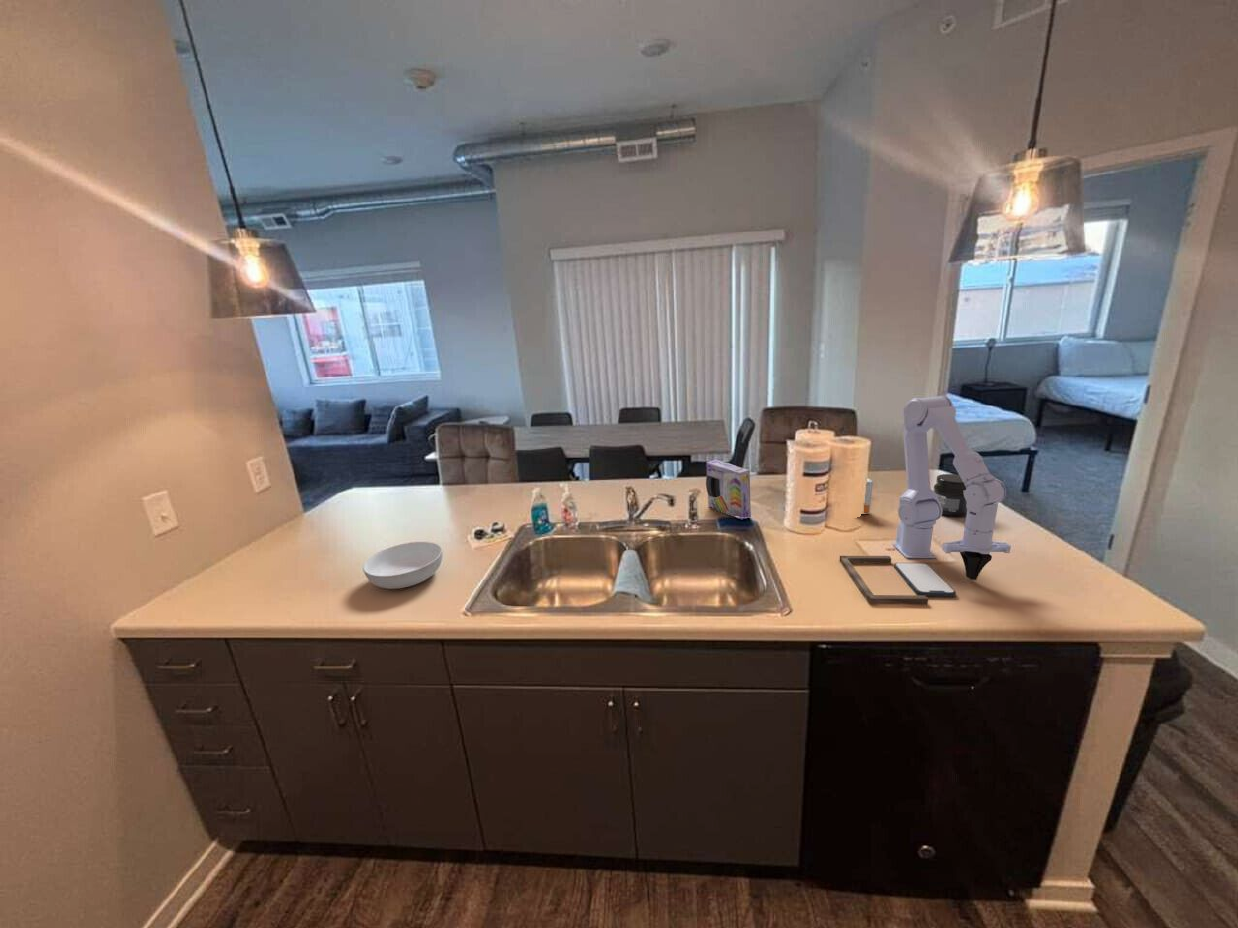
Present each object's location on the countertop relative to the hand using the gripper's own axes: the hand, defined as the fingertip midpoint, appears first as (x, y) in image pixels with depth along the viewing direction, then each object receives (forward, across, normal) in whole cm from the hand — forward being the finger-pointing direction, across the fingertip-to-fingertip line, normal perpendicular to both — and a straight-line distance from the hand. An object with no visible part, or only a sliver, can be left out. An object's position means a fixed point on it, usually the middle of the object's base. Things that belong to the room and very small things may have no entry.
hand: (971, 577), depth 124 cm
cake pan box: (+1, -55, +48) cm, 73 cm away
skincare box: (+1, -11, +46) cm, 47 cm away
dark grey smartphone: (+2, -11, 0) cm, 11 cm away
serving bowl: (+1, -150, 0) cm, 150 cm away
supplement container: (+1, +18, +46) cm, 49 cm away
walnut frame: (+1, -21, 0) cm, 21 cm away
